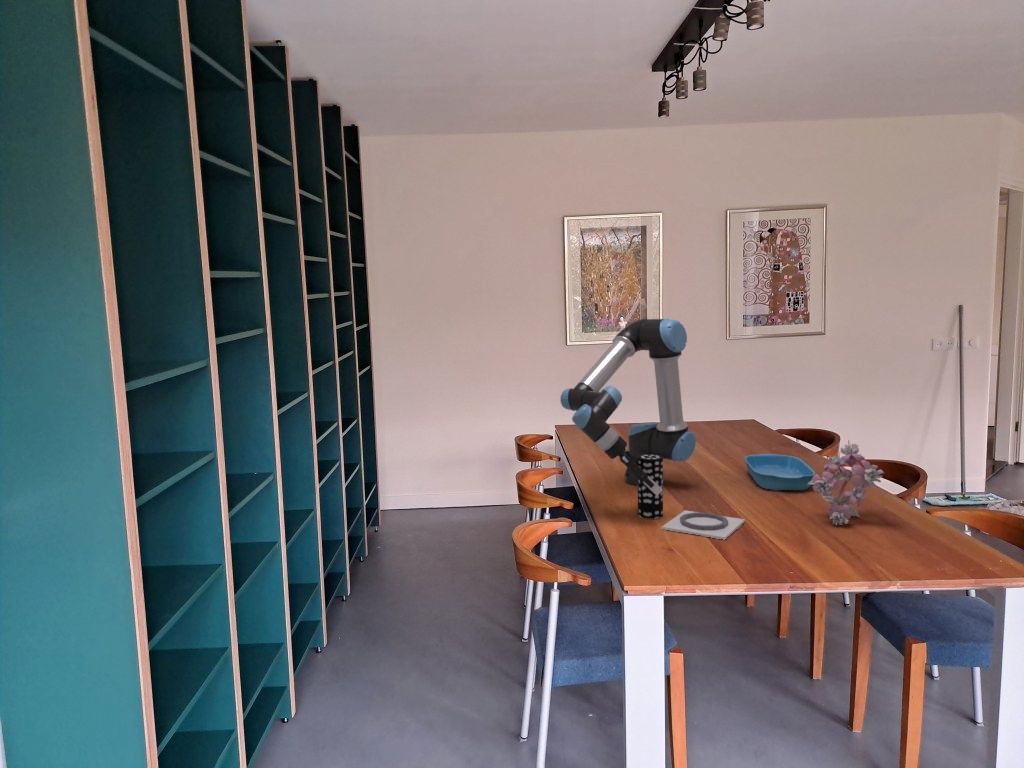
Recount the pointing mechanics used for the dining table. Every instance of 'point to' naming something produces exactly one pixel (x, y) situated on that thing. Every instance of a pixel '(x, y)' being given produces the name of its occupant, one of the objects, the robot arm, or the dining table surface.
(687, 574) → the dining table surface
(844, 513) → the flower
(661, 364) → the robot arm
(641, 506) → the spotted tube
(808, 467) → the casserole dish
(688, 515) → the ring dock
